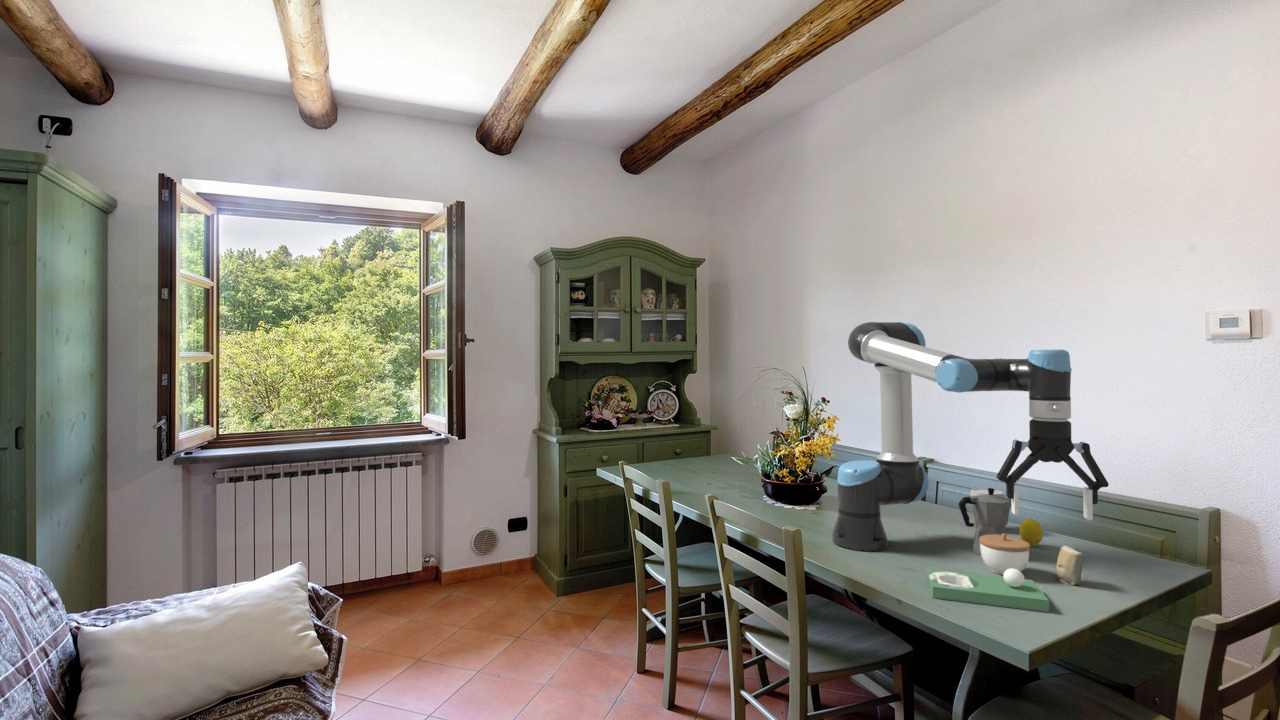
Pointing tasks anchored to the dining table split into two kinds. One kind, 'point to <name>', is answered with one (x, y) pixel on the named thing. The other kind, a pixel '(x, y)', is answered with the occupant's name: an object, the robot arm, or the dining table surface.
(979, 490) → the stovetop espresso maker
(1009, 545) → the lidded jar
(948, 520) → the dining table surface
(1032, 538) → the lemon
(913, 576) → the dining table surface
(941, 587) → the green flat slab
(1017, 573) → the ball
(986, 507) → the coffeepot
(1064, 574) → the beige rounded block
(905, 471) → the robot arm
